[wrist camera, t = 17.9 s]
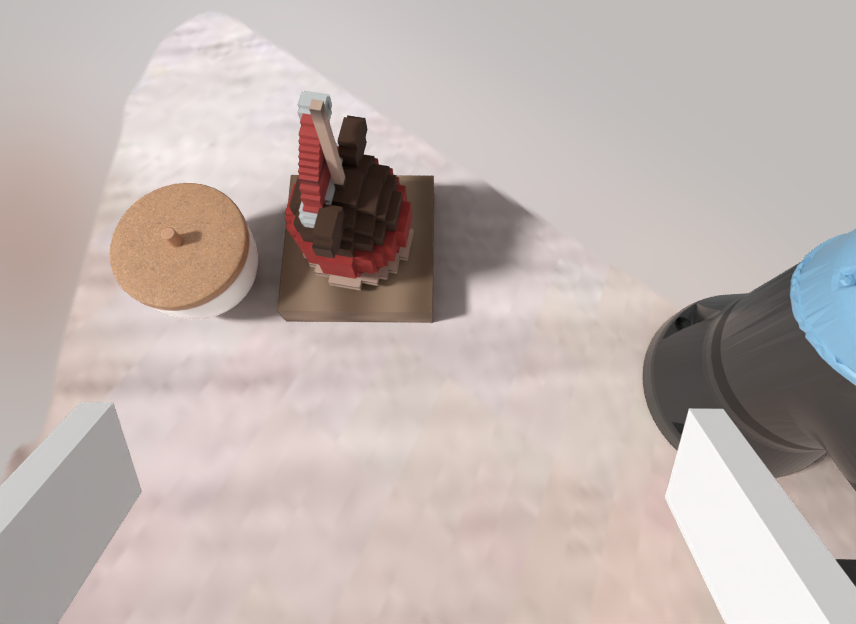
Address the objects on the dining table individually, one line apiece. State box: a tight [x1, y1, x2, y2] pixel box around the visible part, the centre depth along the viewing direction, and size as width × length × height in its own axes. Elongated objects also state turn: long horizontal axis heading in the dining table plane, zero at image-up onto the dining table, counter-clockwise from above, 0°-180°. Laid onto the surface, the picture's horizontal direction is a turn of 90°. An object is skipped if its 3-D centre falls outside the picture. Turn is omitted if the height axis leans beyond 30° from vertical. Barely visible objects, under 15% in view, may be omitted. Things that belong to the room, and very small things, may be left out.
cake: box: [285, 91, 413, 291], centre depth 40 cm, size 11×9×18 cm
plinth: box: [277, 175, 434, 323], centre depth 50 cm, size 13×13×3 cm
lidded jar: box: [110, 183, 258, 319], centre depth 46 cm, size 11×11×9 cm
